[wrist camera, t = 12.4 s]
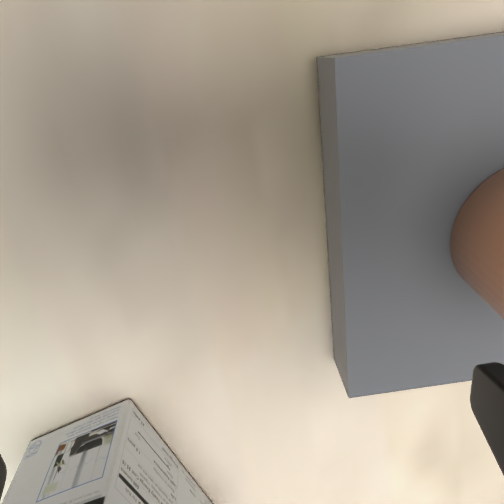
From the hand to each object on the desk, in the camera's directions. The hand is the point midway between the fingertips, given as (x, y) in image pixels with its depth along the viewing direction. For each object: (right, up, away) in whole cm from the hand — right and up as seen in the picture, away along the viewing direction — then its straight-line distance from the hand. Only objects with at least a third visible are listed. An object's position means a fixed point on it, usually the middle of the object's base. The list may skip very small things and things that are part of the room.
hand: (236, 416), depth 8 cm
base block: (+11, +5, +13) cm, 18 cm away
